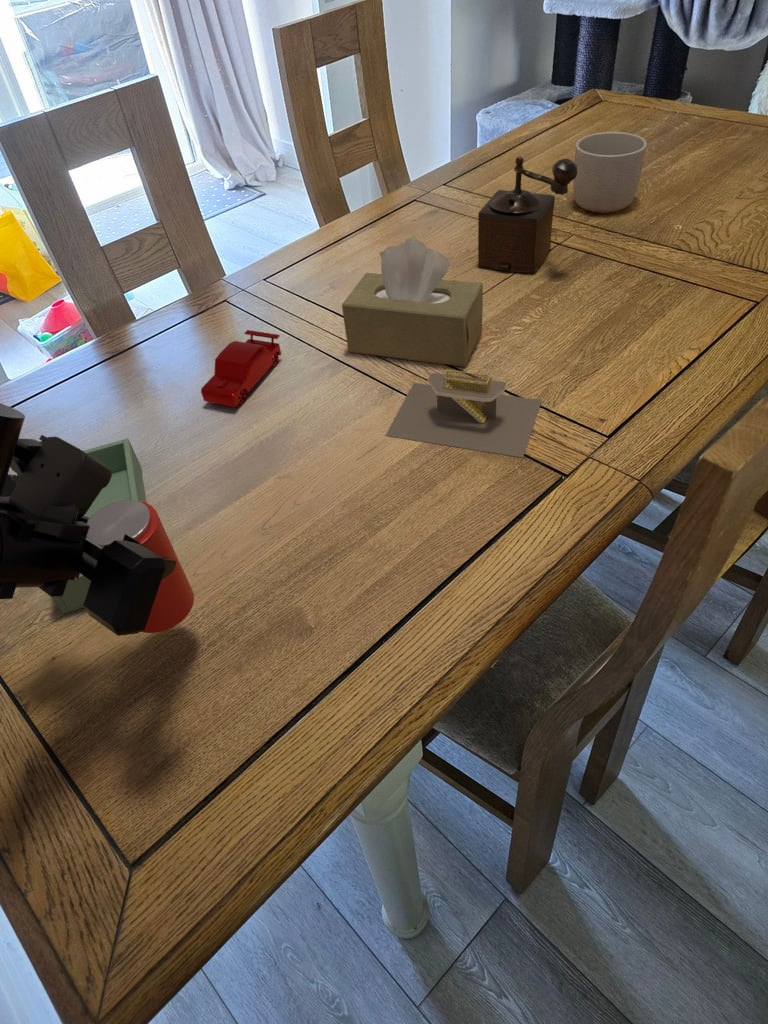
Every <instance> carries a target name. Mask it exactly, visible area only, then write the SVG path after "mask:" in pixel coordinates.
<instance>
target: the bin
mask: <svg viewBox="0 0 768 1024" xmlns="http://www.w3.org/2000/svg"><path fill="white" fill-rule="evenodd" d="M83 451H84V452H85V453H87V454H88V455H90V456H91V457H93V458H94V459H96V460H98V461H99V462H101V463H102V464H104V465H105V466H107V467H108V468H110V469H111V472H112V476H111V480H110V482H109V483H108V485H107V486H106V487H105V488H103V489H102V490H101V492H100V493H99V495H98V496H97V498H96V499H95V501H94V502H93V504H92V505H91V507H90V508H89V510H88V511H87V512H86V514H85V515H84V516H86V517H88V518H90V517H91V516H92V515H93V514H94V513H95V512H96V511H97V510H99V509H100V508H102V507H103V506H105V505H107V504H109V503H112V502H115V501H119V500H136V501H142V502H145V503H148V501H147V495H146V490H145V483H144V478H143V471H142V465H141V463H140V461H139V459H138V457H137V454H136V452H135V450H134V448H133V446H132V443H131V441H130V439H129V438H124V439H120V440H117V441H113V442H110V443H106V444H103V445H99V446H95V447H92V448H88V449H85V450H83ZM90 583H91V580H89V579H88V578H86V577H85V576H83V575H82V574H80V575H79V578H78V580H77V581H72V580H68V582H67V585H66V588H65V591H64V594H63V596H54V597H51V598H52V600H53V601H54V602H55V604H56V605H57V607H58V608H59V609H60V611H61V612H62V614H63V615H65V614H68V613H72V612H75V611H78V610H81V609H85V608H84V606H83V605H84V602H85V598H86V595H87V592H88V589H89V586H90Z"/></svg>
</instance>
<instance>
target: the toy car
mask: <svg viewBox="0 0 768 1024" xmlns="http://www.w3.org/2000/svg"><path fill="white" fill-rule="evenodd" d="M244 335H248V336H250V338H249V339H246V341H239V340H233V341H231V342H229V343H228V344H227V345H226V346H225V347H224V348H223V349H222V350H221V351H220V352H219V354H218V355H217V356H216V357H215V359H214V374H213V375H212V376H211V377H210V378H209V380H208V381H207V382H206V383H205V384H203V386H202V387H201V389H200V393H201V397H202V399H203V402H206V403H212V404H217V405H223V406H226V407H227V406H228V407H232V408H236V407H237V406H238V405H243V404H244V403H245V402H246V398H247V393H249V392H250V391H251V390H252V389H253V388H254V387H255V386H256V384H257V383H258V382H259V381H260V379H262V377H264V375H265V374H266V372H267V371H268V370H269V369H270V368H271V367H276V366H277V365H278V364H279V359H280V356H281V355H282V350H281V347H280V343H278V342H275V340H277V339H280V334H278V333H277V334H276V333H270V332H263V331H257V330H249V329H247V330H246V331H245V332H244ZM254 337H261V338H268V339H271V341H265V340H260V339H254Z"/></svg>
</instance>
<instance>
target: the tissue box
mask: <svg viewBox="0 0 768 1024" xmlns="http://www.w3.org/2000/svg"><path fill="white" fill-rule="evenodd" d="M378 253H379V256H380V258H381V261H380V264H381V265H380V266H381V267H380V268H381V273H375V272H366V273H364V275H363V276H362V277H361V278H360V280H359V281H358V283H357V284H356V285H355V286H354V288H353V289H352V291H351V292H350V293H349V294H348V296H347V297H346V299H344V301H343V302H342V304H341V309H342V316H343V323H344V324H343V325H344V330H345V336H346V337H345V338H346V344H347V351H348V352H349V353H353V354H362V355H370V356H377V357H378V356H379V357H385V358H386V357H387V358H393V359H399V360H400V359H401V360H408V361H416V362H425V363H431V364H438V365H439V364H441V365H447V366H455V367H461V368H462V367H466V366H467V364H468V362H469V359H470V357H471V356H472V353H473V351H474V349H475V347H476V345H477V344H478V341H479V339H480V338H481V337H480V336H481V335H482V332H483V310H484V309H483V308H484V307H483V304H484V303H483V301H484V300H483V299H484V298H483V296H484V295H483V294H484V293H483V292H484V285H483V283H482V282H475V281H474V282H472V281H462V280H451V279H443V278H445V276H446V275H447V272H448V270H449V267H450V265H451V262H452V258H450V257H446V256H445V255H444V254H443V253H442V252H440V251H438V250H436V249H433V248H431V247H428V246H427V245H426V244H425V243H424V242H422V241H421V240H419V239H417V238H411V237H410V238H409V237H408V238H406V239H405V241H404V242H402V243H400V244H398V245H390V246H387V247H385V248H384V250H383V251H379V252H378Z"/></svg>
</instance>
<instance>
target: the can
mask: <svg viewBox="0 0 768 1024" xmlns="http://www.w3.org/2000/svg"><path fill="white" fill-rule="evenodd" d="M87 525H89V526H90V527H89V530H88V534H87V537H86V538H88V539H89V540H91V541H93V542H94V543H96V544H97V545H99V546H101V547H102V548H103V547H104V546H105V545H107V544H111V543H112V542H113V541H114V540H123V538H124V535H125V534H126V535H128V536H129V537H131V538H133V539H134V540H136V541H138V542H139V543H141V544H143V545H144V546H146V547H147V548H148V549H149V550H150V551H152V552H154V553H155V554H157V555H159V556H162V557H167V558H171V559H174V560H176V562H177V563H176V566H175V569H174V571H173V572H172V573H171V574H170V575H168V576H167V577H166V578H164V579H163V580H161V583H160V586H159V589H158V592H157V595H156V598H155V601H154V604H153V607H152V610H151V613H150V616H149V619H148V621H147V624H146V627H145V630H144V631H142V632H141V633H146V634H157V633H158V634H159V633H163V632H165V631H168V630H171V629H173V628H175V627H177V626H178V625H179V624H180V623H182V622H183V621H184V620H185V619H186V618H187V617H188V615H189V614H190V612H191V611H192V609H193V607H194V602H195V594H194V591H193V590H194V589H193V588H192V586H191V584H190V581H189V580H188V577H187V575H186V573H185V571H184V568H183V566H182V564H181V562H180V560H179V558H178V555H177V553H176V551H175V548H174V546H173V544H172V542H171V540H170V538H169V536H168V534H167V531H166V529H165V527H164V524H163V522H162V521H161V518H160V516H159V514H158V512H157V510H156V509H155V507H153V506H152V505H151V504H149V503H148V502H147V503H145V502H142V501H136V500H119V501H115V502H112V503H109V504H107V505H105V506H103V507H102V508H100V509H99V510H97V511H96V512H95V513H94V514H93V515H92V516H91V517H90V518H89V520H88V522H87Z"/></svg>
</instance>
